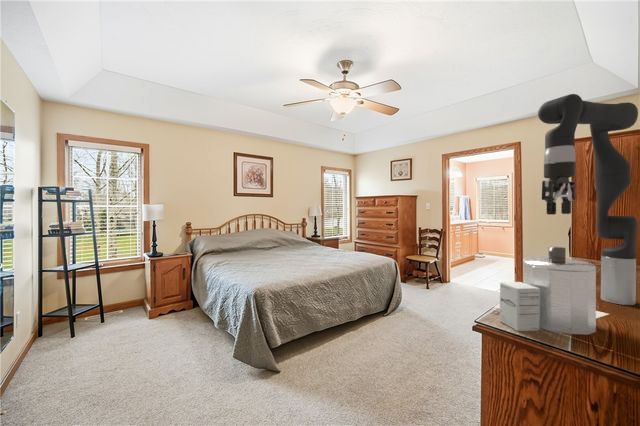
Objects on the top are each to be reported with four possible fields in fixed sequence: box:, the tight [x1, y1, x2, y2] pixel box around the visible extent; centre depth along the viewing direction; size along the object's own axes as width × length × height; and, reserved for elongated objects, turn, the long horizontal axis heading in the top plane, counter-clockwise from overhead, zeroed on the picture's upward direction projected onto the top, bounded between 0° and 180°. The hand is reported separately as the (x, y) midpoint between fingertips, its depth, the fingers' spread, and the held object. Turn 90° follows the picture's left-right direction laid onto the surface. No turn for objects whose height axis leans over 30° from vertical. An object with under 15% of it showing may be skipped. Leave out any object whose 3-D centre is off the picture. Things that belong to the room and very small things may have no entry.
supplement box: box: [499, 281, 540, 332], centre depth 85 cm, size 7×7×13 cm
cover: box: [522, 246, 597, 336], centre depth 87 cm, size 17×17×24 cm
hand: (558, 214), depth 88 cm, fingers open, 8 cm apart
